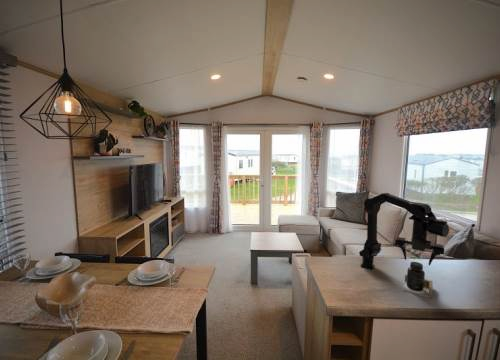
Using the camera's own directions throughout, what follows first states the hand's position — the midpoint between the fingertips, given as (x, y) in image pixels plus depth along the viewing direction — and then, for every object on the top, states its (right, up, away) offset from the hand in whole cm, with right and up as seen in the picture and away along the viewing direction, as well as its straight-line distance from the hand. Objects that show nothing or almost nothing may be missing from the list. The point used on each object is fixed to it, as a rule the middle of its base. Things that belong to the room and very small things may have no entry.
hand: (417, 262), depth 115 cm
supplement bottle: (-1, -12, 0) cm, 12 cm away
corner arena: (+1, -13, 0) cm, 13 cm away
